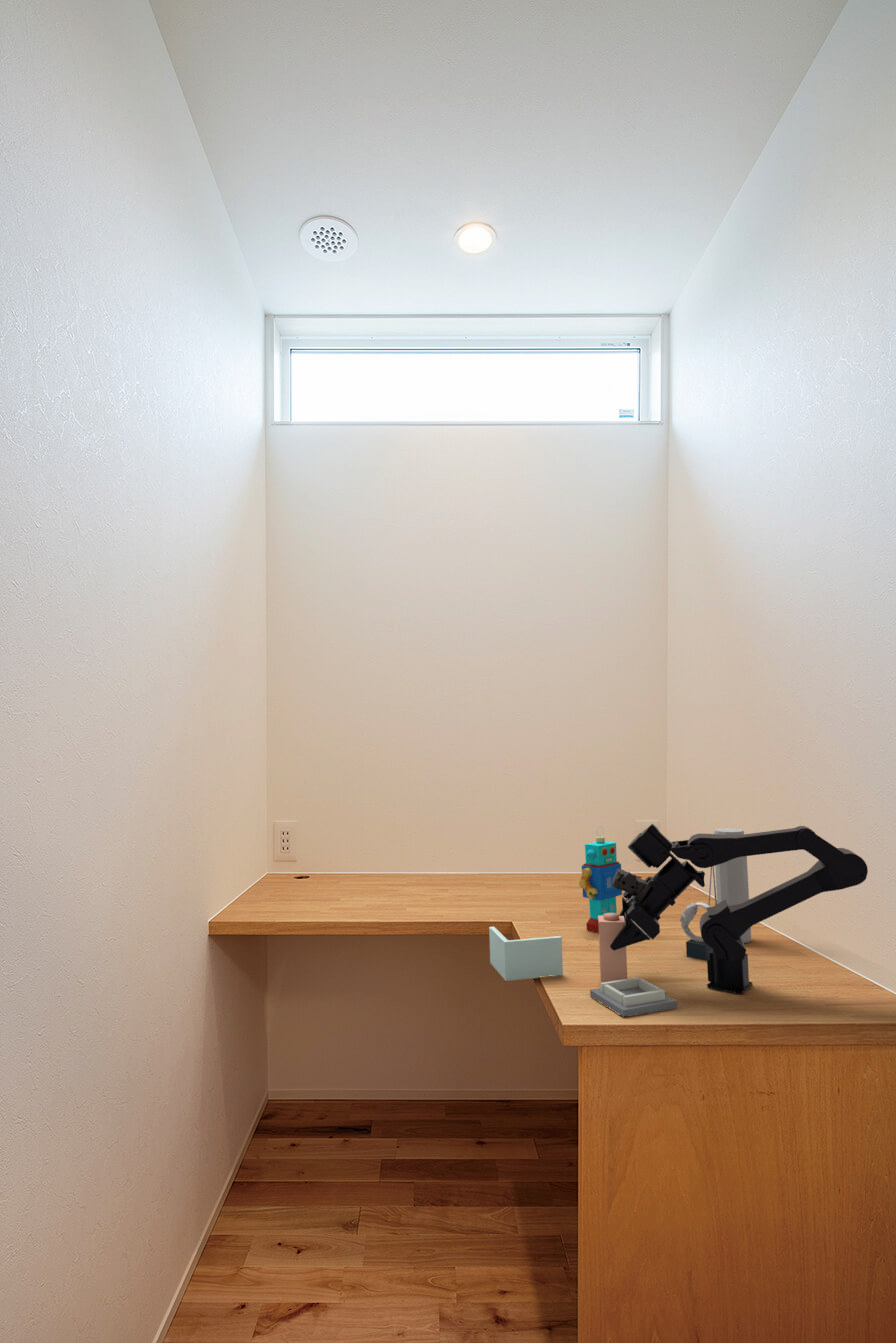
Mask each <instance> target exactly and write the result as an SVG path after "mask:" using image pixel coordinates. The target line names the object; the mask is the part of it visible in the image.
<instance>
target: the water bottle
mask: <svg viewBox="0 0 896 1343" xmlns="http://www.w3.org/2000/svg"><path fill="white" fill-rule="evenodd" d="M713 834H719V835H730V836H736V835H744V834H745V831H744V829H740V828H734V827H731V828H729V827H727V828H715V829H714V833H713ZM747 858H748V856H743V857H738V858H735V859H732V860H729V861H727V862H725V863H722V864H719V865H715V866H712V867H710V875H709V876H710V877H709V888H708V889H709V892H708V902H707V904H708V905H710V906H711V895H712V893H711V891H712V876H713V892H714V906H716V905H717V904H719V903H720V902H721V901H723V900H726V901H727V904H728V906H731V905H738V904H741V903H744V902H746V901H748V900H750V894H749V891H750V890H749V876H748V859H747ZM714 868H715V869H714ZM751 927H752V926H751ZM751 927H750V928H749V929H748V930H747V931H746V932H745V933H744V934H743V935H742V936H741V937H742V940H743V943H745V944H748V943H750V942H751V941H752V928H751Z"/></svg>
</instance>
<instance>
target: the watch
mask: <svg viewBox="0 0 896 1343" xmlns="http://www.w3.org/2000/svg"><path fill="white" fill-rule="evenodd" d="M698 907H701V908H704V909H705V910H706V911H707V907H712V906H711V904H710V905H708V903H705V902H701V901H700V902H695V903H694V902H691V903H689V904H688V905H687V906H686V908H684V910H683V912H682V913H681V916H680V918H679V921H680V927H681V929H682V931H683V932H684V934H685V935H686V936H687V937H688V938H690V939H689V940H688V939H687V941H686V942H685V949H686V951H685V952H686V953H685V954H686V957H687V958H692V959H697V960H702V961H707V960H708V959H709V952H710V951H712V950H713V948H712V947H710V946H708V945H707V944H706V943H705V942H704V941H703V938H702V936H697V935H696V934H695V933H693V932H692V931H691V929H690V928H689V925H690V923H691V922H692V920H694V918H695V917H696V914H697V913H698Z"/></svg>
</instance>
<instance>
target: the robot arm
mask: <svg viewBox="0 0 896 1343" xmlns="http://www.w3.org/2000/svg"><path fill="white" fill-rule="evenodd" d="M627 849H628V850H630V851H631V852H632V853H633V855H635V856H636V857H637V858H638V859H639V860H640V861H641V862H642V863H643V864H644V865H645V866H647V868H651V867H652V868H655V869H659V868H660V867H661V866H662V865H663V864H664V863H665V862H666V861H667V859H668V858H670V859H669V860H668V861H667V862H666V864H664V865H663V866H662V867H661V869H659V870H658V871H657V872H656V873H655V874H654V875H653V876H651V875H650V876H647V877H646V878H645V879H643V878H640V877H638V876H637V875H636V874H633V873H631V872H630V871H626V870H623V869H622V868H621V869H619V868H618V869H617V871H616V873H615V876H614V878H613V880H612V886H613V887H615V888H616V889H618V890H620V889H621V890H622V892H623V893H622V895H623V896H622V897H621V906H622V908H621V911H620V913H618V914H619V916H624V920H625V925H624V926H623V927H622V929H621V930H620V932H619V933H618V935H617V936H616V937H615V939H614V940H613V942H612V943H611V945H610V948H611V949H612V950H617V949H620V948H623V947H626V948H627V947H628V946H632V945H634V944H639V943H641V942H643V941H644V942H645V941H650V940H654V939H655V938H656V937H657V936H658V935H659V934H660V932H661V931H660V930H661V928H660V923H659V920H661V916H660V915H661V914H662V913H663V912H664V911H665V910H666V909H668V907H669V906H671V907H673V906H674V905H675V904H676V901H675V900H676V899H677V898H678V897H679V896H680V895H681V894H682V893H683V892H684V891H685V890H686V889H687V888H689V886H690V885H691V884H692V883H693V882H694V881H695V882H696V883H697V884H698V885H699V886H700V887H702V888H704V887H705V886H706V884H705V875H706V872H705V871H704V870H697V869H696V868H695V867H697V868H701V869H708V868H711V867H712V868H713V866H714V867H715V865H719V864H722V863H725V862H727V861H729V860H732V859H735V858H738V857H743V856H747V857H749V856H758V855H766V854H767V855H768V854H775V853H776V854H777V853H783V852H791V851H792V852H793V851H800V850H802V851H806V853H808V854H810V855H811V856H812V857H814V858H816V859H817V861H816V862H815V863H814V864H813V865H812V866H811V867H810V868H809V869H808V870H807V871H805V872H804V873H802V874H798V875H797V876H795V877H792V878H791V879H789V880H787V881H784V882H783V883H780V884H779V885H776V886H775V887H772V888H770V889H768V890H766V891H764V892H762V893H760V894H758V895H756V896H754V897H752V898H749V900H748V901H746V902H744V903H741V904H738V905H731V906H728V904H727V901H726V900H723V901H721V902H720V903H719V904H717V905H716V906H715V905H714V906H711V907H707V910H706V911H705V912H704V913H703V914H702V915H701V917H700V919H699V920H700V921H699V929H700V937H702V938H703V941H704V942H705V943H706V944H707V945H708V946H710V947H712V948H713V950H712V951H710V952H709V959H708V960H706V964H707V966H706V967H707V981H708V983H707V984H706V987H707V988H709V989H714V990H719V991H724V992H728V993H734V994H739V995H741V994H742V995H743V994H744V993H745V992H746V991H747V990H749V989H750V988H751V987H752V986H753V982H752V981H750V975H749V974H750V973H749V972H750V971H749V957H748V956H749V955H748V953H747V948H746V946H745V944H744V943H743V940H742V937H741V936H742V935H743V934H744V933H745V932H746V931H747V930H748V929H749V928H750V927H753V926H754V925H756V924H759V923H761V922H763V921H765V920H767V919H769V918H771V917H773V916H776V915H778V914H779V913H782V912H784V911H786V910H788V909H790V908H792V907H794V906H796V905H798V904H800V903H802V902H805V901H806V900H809V899H812V898H813V897H815V896H817V895H819V894H822V893H825V892H833V891H840V890H845V889H847V888H848V889H849V888H851V887H856V886H858V885H861V884H862V883H863V882H865V881H866V879H867V876H868V874H869V872H868V865H867V862H866V861H865V860H864V859H863V857H861V856H860V855H857V854H856V853H855V852H853V851H852V850H850V849H849V848H845V847H838V848H837V847H836V846H835V845H833V844H831V843H830V842H828V841H827V840H825V839H824V838H822V837H821V836H819V835H818V834H816V832H815V831H813V829H811V828H810V827H808V826H806V825H798V826H796V827H792V828H791V827H790V828H785V829H776V830H769V831H762V832H761V831H760V832H752V833H744V835H736V836H730V835H719V834H714V833H696V834H693V835H691V836H690V837H689V839H685V840H684V839H683V840H676V841H670V840H669V839H668V838H667V837H666V836H665V835H664V834H663V833H661V831H660V830H659V828H658V827H657V826H656V825H655V824H654V823H651V824H650V825H648V827H647V828H645V829H644V830H643V831H641V832H639V833H638V834H637V835H636V836H635V837H634V838H633V839H632V840H631V842H630V843H629V844H628V846H627ZM679 859H682V860H685V861H683V862H681V861H680V860H679ZM689 861H690V862H689ZM691 864H692V865H691ZM694 866H695V867H694Z"/></svg>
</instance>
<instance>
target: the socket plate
mask: <svg viewBox="0 0 896 1343" xmlns="http://www.w3.org/2000/svg"><path fill="white" fill-rule="evenodd" d="M599 984H600V988H594V989H589V996H591V997H590V998H592V997H593V998H595V999H597V1000H598V1001H600V1002H602V1003H603V1004H605V1005H606V1006H608V1007H610V1008H611V1009H613V1010H614V1011H616V1012H617V1013H619V1014H620V1015H622V1016H629V1015H635V1016H637V1015H636V1014H640V1015H644V1014H643V1013H646V1014H650V1013H651V1012H652V1013H656V1012H662V1011H668V1010H672V1009H678V1001H677V1000H676V999H674V998H672V997H670V996H669V995H666V991H665V989H661V987H658V986H656V985H655V984H653V983H651V982H649V981H647V980H645V979H643V978H641V977H640V976H636V977H629V978H628V977H627V979H622V980H616V981H609V982H603V983H601V982H599ZM593 998H592V999H593ZM595 999H594V1000H595ZM598 1001H597V1002H598ZM600 1002H599V1003H600ZM603 1004H602V1005H603ZM606 1006H605V1007H606ZM611 1009H610V1010H611ZM614 1011H613V1012H614ZM617 1013H616V1014H617ZM619 1014H618V1015H619ZM620 1015H619V1016H620ZM622 1016H621V1017H622ZM629 1017H630V1016H629Z"/></svg>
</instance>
